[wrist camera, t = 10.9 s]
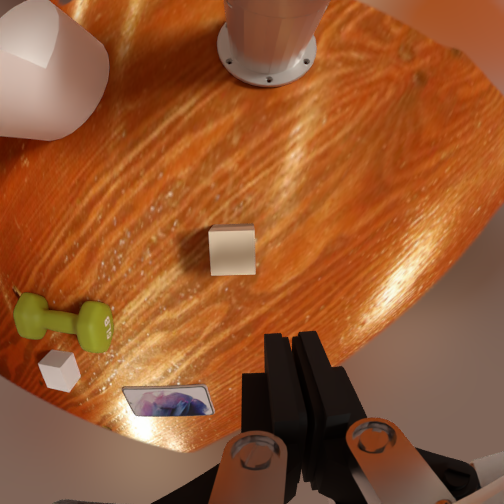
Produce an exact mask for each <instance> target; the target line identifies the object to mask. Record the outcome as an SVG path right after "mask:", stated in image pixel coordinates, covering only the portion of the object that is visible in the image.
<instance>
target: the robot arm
mask: <svg viewBox="0 0 504 504" xmlns="http://www.w3.org/2000/svg"><path fill="white" fill-rule="evenodd" d="M329 2H330V0H224V7H225V15H226V22H225V23H224V25H223V26H222V28H221V29H220V32H219V35H218V39H217V49H218V54H219V58H220V60H221V62H222V64H223V66H224V67H225V68H226V69H227V70H228V72H229V73H231V74H232V75H233V76H234V77H236V78H237V79H239V80H241V81H243V82H245V83H248V84H250V85H254V86H259V87H279V86H283V85H287V84H290V83H292V82H294V81H296V80H298V79H299V78H301V77H302V76H303V75H305V73H306V72H307V71H308V70H309V69H310V67H311V66H312V64H313V62H314V59H315V56H316V50H317V47H316V40H315V37H314V32H315V30H316V28H317V26H318V24H319V22H320V20H321V18H322V16H323V14H324V12H325V10H326V8H327V6H328V4H329ZM229 62H231V63H232V64H228V63H229ZM304 62H306V63H307V64H304ZM267 80H270V81H271V82H270V83H268V82H267ZM264 356H265V373H243V374H242V419H241V433H240V434H238V435H236V436H234V437H233V438H232V439H231V440H230V441H229V442H227V444H226V446H225V448H224V451H223V454H222V458H221V461H220V463H219V464H217V465H216V466H215V467H213V468H211V469H210V470H208V471H207V472H205V473H204V474H202V475H200V476H199V477H197V478H195V479H194V480H192V481H190V482H189V483H187V484H186V485H184V486H182V487H180V488H178V489H177V490H175V491H173V492H171V493H170V494H168V495H166V496H164V497H162V498H161V499H159V500H157V501H155V502H153V503H151V504H287V503H288V502H289V501H290V500H291V499H292V498H293V497H294V496H295V495H296V489H297V483H299V480H300V474H301V469H302V474H303V480H304V482H310V483H311V488H312V490H318V492H319V493H321V494H323V495H324V496H326V497H328V503H329V504H504V451H503V452H500V453H497V454H493V455H490V456H486V457H483V458H479V459H475V460H472V462H471V463H470V464H468V463H466V462H463V461H460V460H456V459H453V458H449V457H445V456H442V455H438V454H435V453H431V452H428V451H425V450H422V449H419V448H416V447H414V446H413V445H412V444H411V442H410V441H409V440H408V439H407V437H406V436H405V435H404V433H403V432H402V431H401V430H400V428H399V427H398V426H396V425H395V424H394V423H393V422H391V421H389V420H387V419H383V418H378V417H377V418H376V417H370V418H367V416H366V414H365V411H364V409H363V407H362V405H361V403H360V401H359V399H358V397H357V394H356V392H355V390H354V388H353V386H352V384H351V382H350V380H349V377H348V376H347V373H346V371H345V369H344V368H343V367H342V366H339V367H331V365H330V362H329V360H328V358H327V355H326V353H325V351H324V348H323V346H322V344H321V341H320V339H319V337H318V334H317V332H316V331H306V332H299V333H298V336H296V337H292V351H291V347H290V343H289V339H288V337H282V334H281V333H274V334H264ZM53 504H113V503H97V502H86V501H77V500H69V499H68V500H59V501H56V502H54V503H53Z"/></svg>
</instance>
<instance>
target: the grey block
mask: <svg viewBox="0 0 504 504" xmlns="http://www.w3.org/2000/svg"><path fill="white" fill-rule="evenodd" d="M38 365H39V368H40V370H41V373H42V375H43V378H44V380H45V382H46V385H47V387H48V388H52V389H57V390H61V391H66V392H70V391H71V389H72V388H73V387H74V385H75V384H76V382H77V381H78V380H79V378H80V377H81V375H80V372H79V369H78V366H77V363H76V360H75V357H74V354H73V353H71V352H64V351H57V350H51V351H50V352H49V353H48V354H47V355H46V356H45V357H44V358H43V359H42V360H41V361H40V362H39V363H38Z"/></svg>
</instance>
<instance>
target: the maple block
mask: <svg viewBox="0 0 504 504" xmlns="http://www.w3.org/2000/svg"><path fill="white" fill-rule="evenodd" d="M209 250H210V266H211V275H251V274H255V230H254V224H221V225H213V226H212V227H211V229H210V230H209Z"/></svg>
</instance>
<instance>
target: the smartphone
mask: <svg viewBox="0 0 504 504" xmlns="http://www.w3.org/2000/svg"><path fill="white" fill-rule="evenodd" d="M122 390H123V393H124V395H125V397H126V399H127V401H128V403H129V405H130V407H131V409H132V411H133V412H134V414H135V415H136V416H153V417H170V416H202V415H213V414H214V413H215V410H214V407H213V404H212V401H211V398H210V394H209V391H208V388H207V386H206V385H205V384H194V385H177V386H148V387H145V386H125V387H123V389H122Z"/></svg>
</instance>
